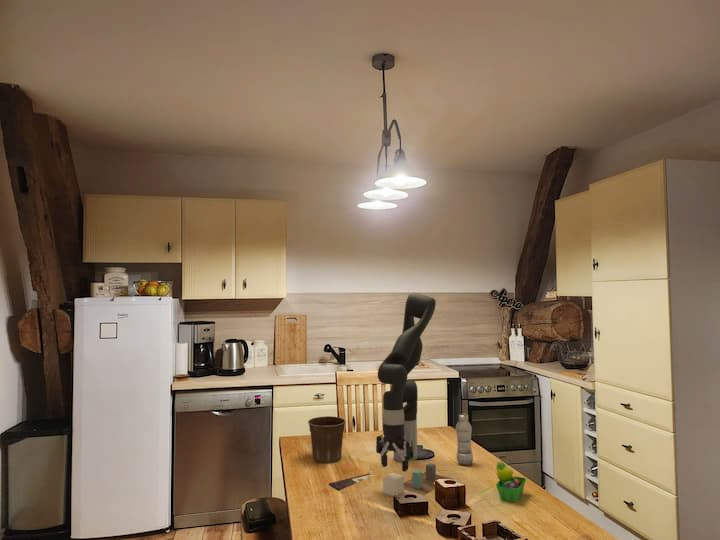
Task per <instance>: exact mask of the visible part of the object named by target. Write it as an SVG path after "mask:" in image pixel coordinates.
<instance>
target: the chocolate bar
mask: <svg viewBox="0 0 720 540" xmlns="http://www.w3.org/2000/svg"><path fill="white" fill-rule="evenodd" d="M373 476H374V475H373V474H372V473H366V474H361V475H357V476H354V477H350V478H345V479H341V480H338V481H333V482H329V483H328V485H329V487H332V488H333V489H335V490H336V491H340V493H343V492H341V491H342V490H344V489H346V488H348V487H351V486H353V485H355V484H357V483H359V482H361V481H365V480H367V479H368V478H370V477H373Z"/></svg>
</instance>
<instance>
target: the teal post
mask: <svg viewBox="0 0 720 540" xmlns="http://www.w3.org/2000/svg"><path fill="white" fill-rule="evenodd" d="M422 474H423V470H417V469H415V470H413V471H412V472H411V475H412V476H411V479H412V487H413V488H417V489H419V488H421V487H423V481H422Z"/></svg>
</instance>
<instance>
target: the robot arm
mask: <svg viewBox="0 0 720 540" xmlns="http://www.w3.org/2000/svg"><path fill="white" fill-rule="evenodd" d="M436 306H437V305H436V299H435V298H434V297H431V296H428V295H424V294H421V293H418V292H411V293H409V294H408V296H407V299H406V301H405V307H404V314H403V315H404V317H403V325H402V332H401V334H400V335H399V336H398V337H397V339H396V341H395V343H394V345H393V348H392V350H391V352H390V353H389V354H388V355H387V356H386V357H385V358H384V360H383V361H382V362H381V364H380V365H379V367H378V369H377V379H378V381H379V382H380V383H382V384H385V385H391V386H390V390H387V391H385V392H383V397H382V404H383V406H382V407H383V408H382V409H383V412H382V432H383V433H382V434H380V435H377V436H376V440H375V441H376V442H375V443H376V444H375V447H376V448H375V452H376V454H379V455H380V461H381V467H384V468H385V467H387V466H388V455H387V454H388V452H393V460H395V461H397V462H398V463H401V470H402V472H403V473H404V472H405V473H406V472H407V471H408V470H409V461H410V462H411V461H415V460H417V459H418V423H417V422H418V421H417V420H418V419H417V418H418V417H417V416H418V415H417V414H418V396H419V395H418V393H419V392H418V385H417V382H416V381H415V380H412V379H408V375H409V374H410V373H411V372H412V371H413V370H414V369H415V367H416V366H417V365H418V364H419V362H420V360H421V357H422V352H423V341H422V339H421V336H422V335H423V333H424V331H425V330H426V328H427V326H428V325H429V323H430V321H431V319H432V317H433V315H434V313H435V309H436ZM415 318H417V319H419V320H418V321H417V323H415ZM404 404H405V405H404Z"/></svg>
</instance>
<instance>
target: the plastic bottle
mask: <svg viewBox="0 0 720 540" xmlns="http://www.w3.org/2000/svg"><path fill="white" fill-rule="evenodd" d="M458 420H459V421H457V423H456V425H455V431H456V442H457V452H456V457H455V458H456V461H457V463H458V464H459V465H463V466H469V465H471V464H472V463H473V462H474V456H473V452H472V451H473V450H472V430H473V427H472V425H471V423H470V422H469V414H468V413H459V414H458Z"/></svg>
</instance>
